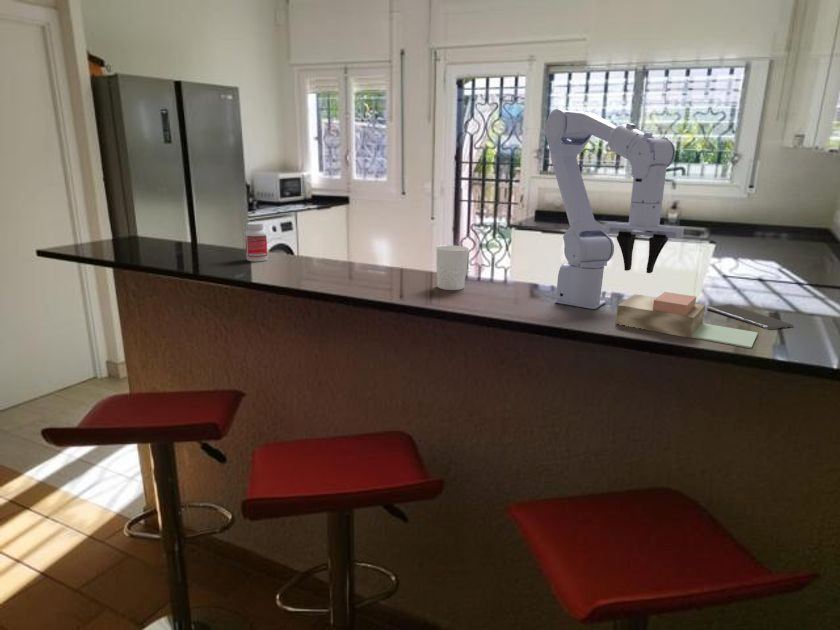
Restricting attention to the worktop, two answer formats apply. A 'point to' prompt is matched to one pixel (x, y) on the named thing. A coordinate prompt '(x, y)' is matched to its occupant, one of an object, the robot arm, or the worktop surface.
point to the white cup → (451, 267)
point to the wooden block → (658, 317)
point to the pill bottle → (256, 242)
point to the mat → (725, 335)
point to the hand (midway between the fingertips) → (638, 271)
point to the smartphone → (749, 316)
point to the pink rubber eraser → (674, 303)
